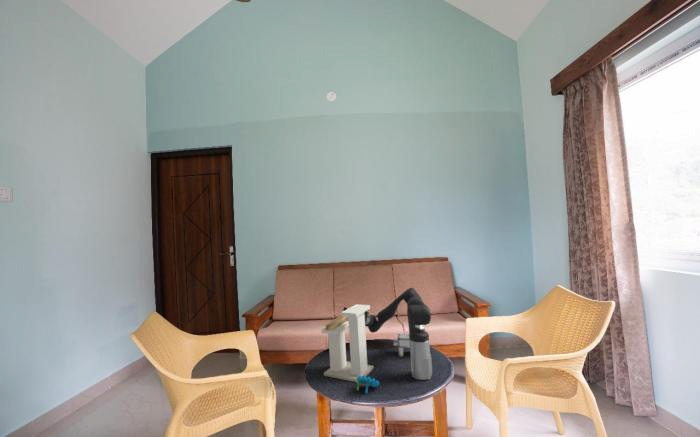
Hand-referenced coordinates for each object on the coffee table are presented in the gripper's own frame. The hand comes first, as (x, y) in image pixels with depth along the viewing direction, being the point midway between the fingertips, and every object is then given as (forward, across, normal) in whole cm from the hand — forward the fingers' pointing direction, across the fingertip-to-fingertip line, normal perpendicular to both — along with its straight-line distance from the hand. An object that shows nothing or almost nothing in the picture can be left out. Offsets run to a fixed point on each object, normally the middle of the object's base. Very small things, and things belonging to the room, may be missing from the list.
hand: (350, 309), depth 173 cm
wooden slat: (+9, 0, +10) cm, 13 cm away
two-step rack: (+1, +6, +31) cm, 32 cm away
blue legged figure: (+12, +22, +38) cm, 45 cm away
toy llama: (-26, +28, +16) cm, 41 cm away
